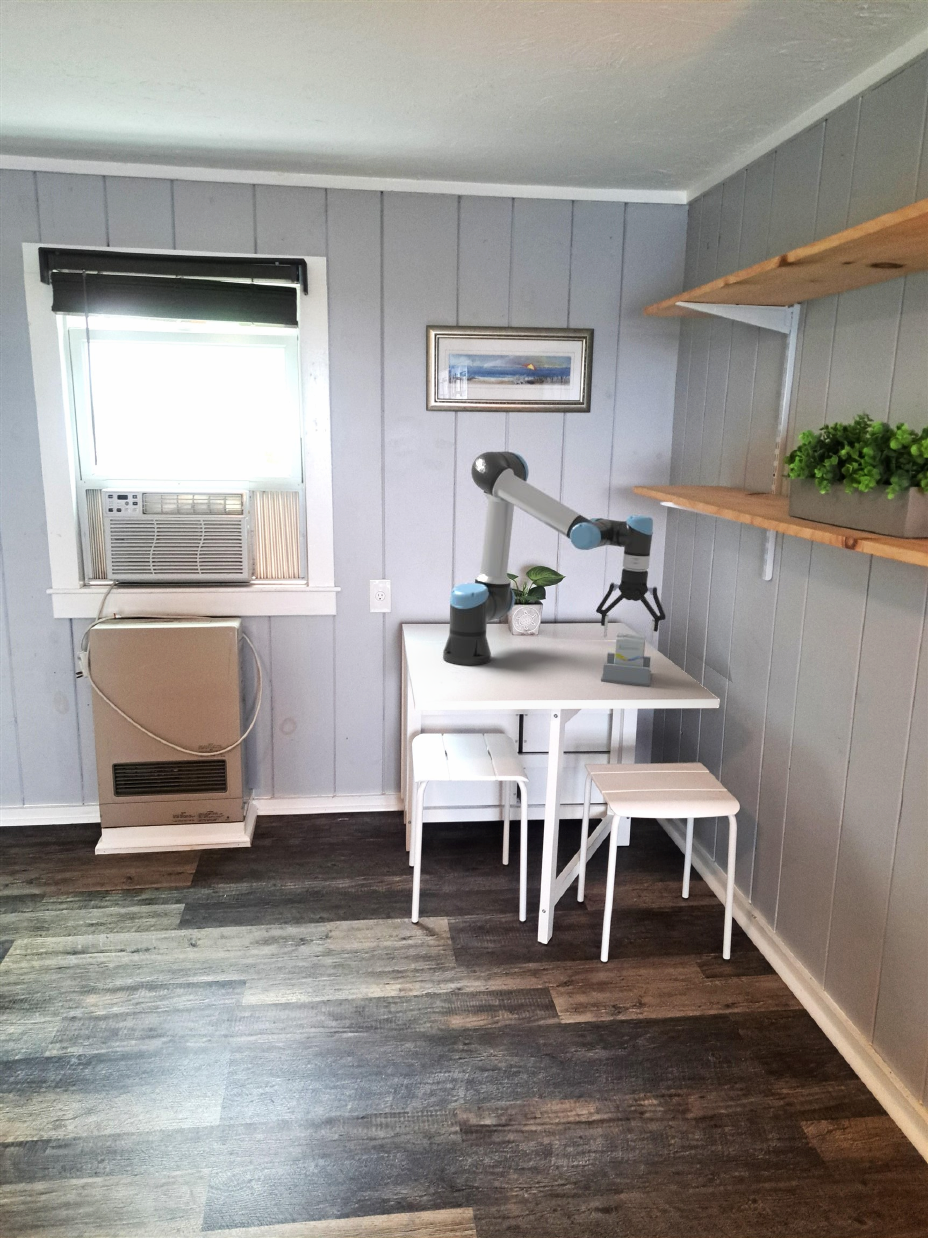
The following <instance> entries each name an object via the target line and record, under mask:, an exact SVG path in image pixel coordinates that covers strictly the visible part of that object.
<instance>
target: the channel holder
mask: <svg viewBox="0 0 928 1238" xmlns="http://www.w3.org/2000/svg"><path fill="white" fill-rule="evenodd" d="M606 654H607V655H606V663H605V662H604V664H603V668H602V669H603V672H602V674H601V678H600V682H605V683H614V684H623V685H632V686H643V687H650V684H651V675H652V670H651V669H650V667H651V658H652V657H651V656H649V655H644V661H643V667H637V666H627V665H617V664H614V658H615V652H607V653H606Z"/></svg>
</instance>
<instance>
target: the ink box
mask: <svg viewBox="0 0 928 1238" xmlns="http://www.w3.org/2000/svg"><path fill="white" fill-rule="evenodd" d="M645 648H646V635H638V634H630V633H620V632H618V633H617V636H616V638H615V650H614V653H615V658H614V664H617V665H627V666H637V667H643V661H644V656H645V651H646V650H645Z"/></svg>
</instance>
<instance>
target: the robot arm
mask: <svg viewBox="0 0 928 1238" xmlns="http://www.w3.org/2000/svg"><path fill="white" fill-rule="evenodd" d="M470 471H471V472H470V473H471V479H472V480H473V482H474V484H475V486H477V487H478V488H479V489H480V490H482V491H483V495H484V496H485V497H486V500H487V503H486V504H487V506H486V514H485V515H486V516H485V523H484V524H485V526H484V535H483V545H482V553H481V554H482V555H481V562H480V563H481V566H480V573H478V574H477V575H476V576H475V578H474V579H475V580H474V582H470V583H469V582H468V583H462V584H458V585H456V586H454V587H452V590H451V592H450V598H449V605H450V607H449V633H448V634H449V635H448V638H447V640H446V642H445V643H446V644H445V646H444V649H443V652H442V659H443V660H444V661H445V662H447V663H449V664H450V663H451V664H455V665H462V666H478V665H483V664H488V663H489V662H491V660H492V659H491V658H492V652H491V649H490V645H489V642H488V638H487V628H488V627H487V625H488V624H487V623H488V622H491V621H495V620H499V619H502V618H503V617H505V616H506V615H508V614H509V613H510V612H511V611H512V610H513V608H514V605H515V601H516V598H515V597H516V596H515V592H514V591H513V589H512V587H511V585H512V584H511V583H512V580H511V579H510V578H509V577H508V566H509V557H510V551H511V550H510V548H511V540H512V539H511V538H512V531H513V530H512V529H513V521H514V513H515V511H514V510H515V507H517V508H518V509H520V510H522V511H523V512H525V513H527V514H528V515H529V516H532V518H534V519H536V520H538V521H540V522H541V523H543V524H544V525H546V526H547V527H549V528H551V529H553V530H554V531H556V532H558V533H559V534H561V535H562V536H564V537H566V538H567V539H569V540H570V542H571V544H572V546H574V547H575V549H577V550H582V551H588V550H593V549H596V548H601V547H604V546H609V547H611V546H612V547H620V548H624V549H623V559H622V567H623V568H622V570H621V579H620V584H617V583H615V582H610V584H609V588H608V591H607V592H606V594H605V595H604V597H603V598H602V600H601V601H600V603H599V604H598V606H597V608H596V610H595V613H597V614H600V615H601V619H600V626H602V627H604V629H603V638H605V639H606V638H607V636H608V628H609V627H608V624H609V615H610V614H608V613H610V611H612V610H613V609H614V608H615V607H616V606H617V605H618V604H619V603H620V602H622V600H623V599H625V600H626V601H634V602H639V601H641V603H642V605H644V607H645V608H646V610H647V611H648V612H649V614H650V615H651V617H652V620H651V628H650V629H651V630H650V637H649V638H650V639H649V643H650V644H653V641H654V634H655V633H654V632H658V630H659V623H660V621H662V620H663V621H665V620H666V613H665V611H664V607H663V605H662V602H661V600H660V598H659V595H658V587H657V586H652V587H648V578H649V571H648V569H649V567H650V559H651V547H652V541H653V534H654V531H653V529H654V519H653V518H652V517H650V516H646V515H638V514H636V515H635V514H634V515H632V514H631V515H628V516H627V518H626V521H624V520H623V521H621V520H617V519H616V520H614V519H609V518H608V519H607V518H602V517H599V518H597V517H593V518H590V519H589V518H587V517H585V516H583V515H582V514H581V513H579V512H577V511H576V510H574V509H572V508H570V507H568V506H567V505H565V504H564V503H562V502H560V501H559V500H557V499H555V498H554V497H552V496H550V495H549V494H547V493H545V492H544V491H542V490H540V489H539V488H537V487H535V486H533V485H531V484H530V483H529V482H527V481H528V478H529V465H528V464H527V461H526V460H525V458H523V456H522V455H520V454H518V452H517V453H516V452H511V451H508V450H507V451H486V452H483V453H481V454H480V455H478V456H477V457H476V458H475V459H474V460H473V463H472V465H471V470H470ZM617 589H618V590H619V591H620V594H619V595H618V596H617V597H616V598H615V599H614V600H613V601H612V602H611V603H610V604H608V606H606V607H605V608H604V606H605V604H606V603H607V601H608V600H609V599H610V597H611V595H612V593H613V592H615V591H616V590H617ZM648 592H649V595H650V596H651V595H652V598H653V601H654V603H655V605H656V608H657V611H658V613H659V615H658V614H657V611H656V610H655V609H654V607H653V606H652V605H651V603H650V602H649V600H648V599H647V598H646V596H645V595H646V594H647V593H648ZM603 608H604V609H603Z"/></svg>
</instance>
